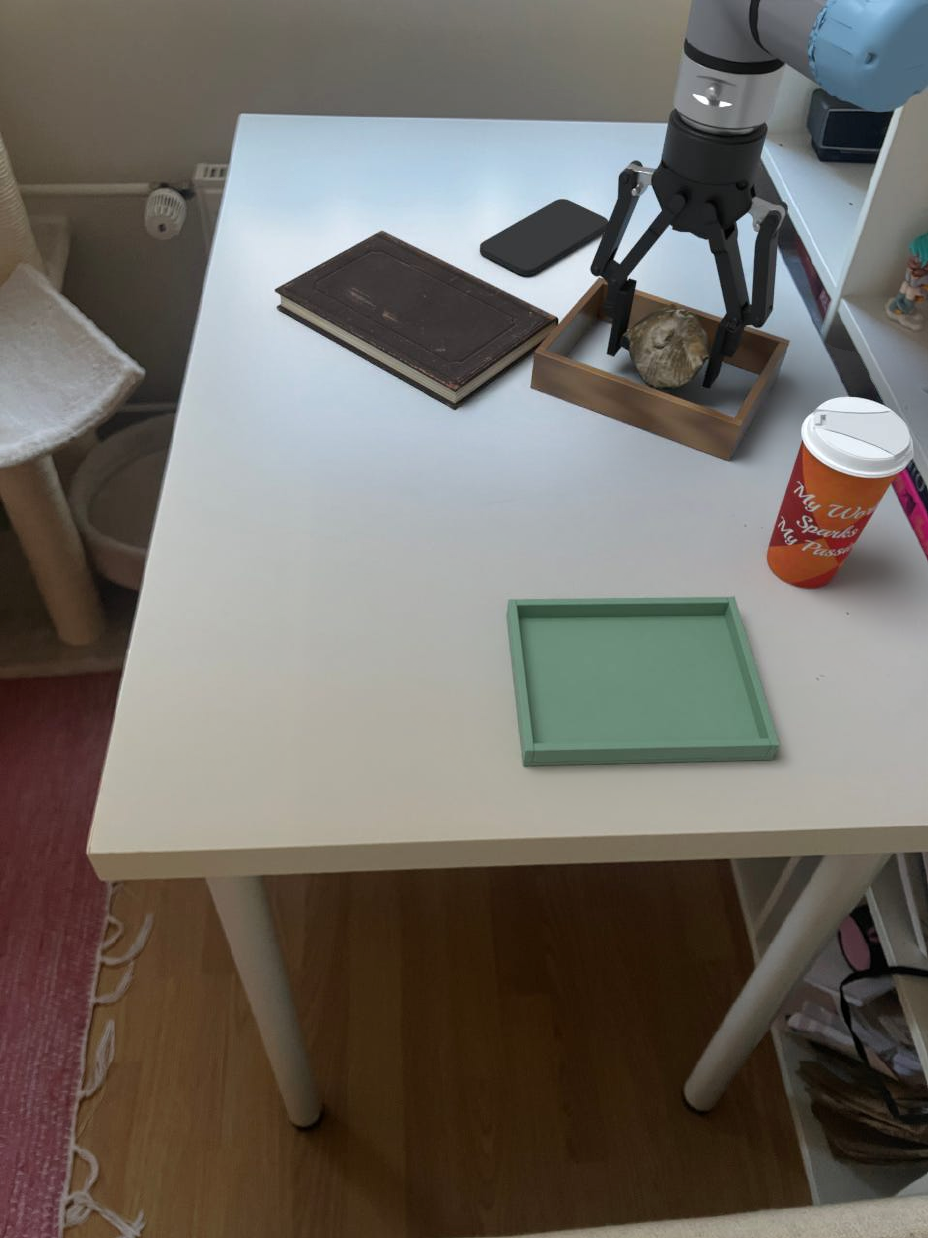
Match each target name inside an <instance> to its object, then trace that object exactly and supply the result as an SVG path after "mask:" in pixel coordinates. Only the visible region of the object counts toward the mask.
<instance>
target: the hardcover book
mask: <svg viewBox="0 0 928 1238" xmlns="http://www.w3.org/2000/svg"><path fill="white" fill-rule="evenodd" d="M274 292H275V293H276V294H278V295H279V296H280V304H278V305H277V306H276V309H277V310H278V311H280V312H281V313H284V314H285V315H287V316H289V317H291V318H292V319H294V320H296V321H298V322H299V323H301V324H303V325H305V326H306V327H308V328H310V329H312V330H313V331H315V332H317V333H318V334H321V336H324V337H326V338H327V339H329V340H331V341H333V342H335V343H336V344H338V345H339V346H342V347H344V348H345V349H347V350H349V351H351V352H353V353H354V354H356V355H358V356H360V357H361V358H363V359H365V360H366V361H368V362H370V363H372V364H374V365H375V366H377V367H379V368H380V369H382V370H384V371H386V372H388V373H389V374H391V375H393V376H395V377H397V378H398V379H400V380H402V381H403V382H405V383H407V384H409V385H411V386H413V387H414V388H416V389H418V390H420V391H421V392H423V393H425V394H426V395H428V396H430V397H432V398H434V399H435V400H437V401H439V402H440V403H443V404H444V405H445V406H447V407H449V408H451V409H453V410H455V409H457V408H458V407H459V406H461V405H462V404H463V403H465V402H466V401H468V400H469V399H471V397H473V396H475V395H476V394H477V393H479V392H480V391H481V390H483V389H484V388H486V387H487V386H489V384H491V383H493V382H494V381H495V380H497V379H498V378H499V377H501V376H502V375H503V374H505V373H506V372H508V371H509V370H510V369H512V368H513V367H515V366H516V365H517V364H519V363H520V362H521V361H523V360H524V359H525V358H527V357H528V356H529V355H531V354H533V353H535V351H536V349H537V348H538V347H539V346H540V345H541V344H542V342H543V341H544V340H545V339H546V338H547V337H548V336H549V334H550V333H551V332H552V331H553V330H554V329H555V327H556V326H557V325H558V324H559V323H560V322H559V321H560V320H559V317H557V316H556V315H554V314H552V313H550V312H548V311H546V310H544V309H542V308H540V307H538V306H536V305H534V304H531V303H529V302H527V301H525V300H523V299H522V298H520V297H517V296H516V295H513V294H511V293H509V292H507V291H505V290H503V289H501V288H499V287H498V286H495V285H493V284H491V283H489V282H487V281H485V280H483V279H481V278H479V277H477V276H475V275H473V274H472V273H469V272H467V271H465V270H463V269H461V268H459V267H457V266H455V265H453V264H451V263H449V262H447V261H445V260H443V259H441V258H439V257H437V256H435V255H433V254H431V253H429V252H427V251H425V250H423V249H420V248H418V247H417V246H415V245H413V244H411V243H409V242H406V241H405V240H403V239H401V238H398V237H397V236H395V235H393V234H390V233H388V232H386V231H384V230H379V231H378V232H376V233H374V234H372V235H371V236H369V237H367V238H365V239H363V240H361V241H360V242H357V243H356V244H354V245H352V246H351V247H349V248H347V249H345V250H344V251H342V252H340V253H338V254H336V255H334V256H332V257H330V258H329V259H327V260H325V261H323V262H321V263H319V264H317V265H316V266H314V267H312V268H310V269H309V270H307V271H305V272H303V273H302V274H300V275H298V276H295V277H294V278H292V279H291V280H289V281H287V282H285V283H283V284H282V285H280V286H278V287H276V288H274Z"/></svg>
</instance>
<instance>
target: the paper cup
mask: <svg viewBox="0 0 928 1238" xmlns="http://www.w3.org/2000/svg"><path fill="white" fill-rule="evenodd" d="M800 433H801V439H802V440H801V442H800V445H799V448H798V452H797V455H796V458H795V461H794V464H793V466H792V467H793V468H792V470H791V473H790V477H789V479H788V482H787V486H786V488H785V492H784V495H783V499H782V502H781V505H780V507H779V511H778V514H777V518H776V521H775V522H774V523H775V524H774V527H773V531H772V533H771V537H770V540H769V544H768V548H767V552H766V561H767V565H768V567H769V568H770V570H771V572H772V573H773V574H774V575H775V576H776V577H778V579H780V580H781V581H783V582H785V583H787V584H789V585H791V586H794V587H798V588H801V589H802V588H803V589H817V588H821V587H824V586H826V585H827V584H829V583H831V581H832V580H833V579H834V577H835V576H836V575H837V573H838V572H839V570H840V569H841V567H842V566H843V564H844V563H845V561H846V559H847V558H848V556H849V554H850V553H851V551H852V549H853V547H854V546H855V544H856V543H857V541H858V539H859V538H860V537H861V534H862V533H863V531H864V530H865V528H866V526H867V524H868V523H869V521H870V520H871V518H872V516H873V514H874V513H875V511H876V510H877V508H878V506H879V505H880V503H881V501H882V499H883V498H884V497H885V494H886V493H887V491H888V490H889V488H890V486H891V485H892V483H893V481H894V479H895V478H896V476H897V474H898V473H900V472H901V471H903V470H904V469H905V468H907V466H908V465H909V463H910V462H911V461H912V459H913V458H914V447H913V446H914V442H913V441H914V440H913V436H912V434H911V433H910V430H909V427H908V425H907V423H905V421H904V420H903V419H902V418H901V417H900V416H899V415H898V414H897V413H896V412H895V411H894V410H892V409H891V408H889V407H887V406H886V405H884V404H882V403H879V402H877V401H874V400H871V399H867V398H862V397H858V396H857V397H855V396H840V397H834V398H830V399H828V400H825V401H824V402H823V403H820V405H818V406H817V407H816V408H815V410H814V411H813V412H811V413H810V414H809V415H808V416H807V417H806V418H805V419H804V420H803V423H802V425H801V429H800Z"/></svg>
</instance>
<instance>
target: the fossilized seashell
mask: <svg viewBox="0 0 928 1238" xmlns="http://www.w3.org/2000/svg"><path fill="white" fill-rule="evenodd" d="M620 346H621V348H622V349H624V350H626V351H627V352H629V357H630V359H631V362H632V364H633V366H634V368H635V370H636V372H637V373H638V377H639V378H640V380H641V382H643V383H644V385H646V386H647V387H650V388H653V389H656V390H662V391H663V390H664V391H667V390H669V391H670V390H673V389H674V390H675V389H679V388H681V387H684V386H686V385H688V384H690V383H691V382H692V381H693V380H694V379H695V377H696V376H697V375H698V373H699V372H700V370H702V368H703V366H704V365H705V363H706V361H708V360H709V358H710V356H709V354H708V337H707V333H706V331H705V330H704V329H703V328H701V325H700V322H699V320H698V317H697V316H696V315H695V314H694V313H692V312H690V311H687V310H679V309H678V308H677V306H676V305H675V304H671V305H669V306H668V307H665V308H663V309H661V310H657V311H654V312H652V313H650V314H648V315H646V316H645V317H644V318H642V319H641V320H640V321H639V322H638V323H636V324H635V325H634V326H633V327H632V328H630V329H627V332H626V333H624V334H623V336H622V338H621V343H620Z"/></svg>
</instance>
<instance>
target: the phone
mask: <svg viewBox="0 0 928 1238" xmlns="http://www.w3.org/2000/svg"><path fill="white" fill-rule="evenodd" d="M608 222H609V219H608V218H606V217H605V216H603V215H601V214H599V213H598V212H594V211H593V210H590V209H589V208H586V207H584V206H583V205H580V204H578V203H576V202H574V201H572V200H569V199H566V198H558V199H556V200H554V201H552V202H550V203H549V204H547V205H545V206H543V207H542V208H540V209H538V210H536V211H534V212H532V213H531V214H529V215H527V216H526V217H523V218H521V219H520V220H518V221H517V222H515V223H513V224H512V225H510V226H508V227H506V228H505V229H503V230H501V231H499V232H497V233H496V234H494V235H492V236H490V237H488V238H487V239H485V240H484V241H482V242H481V243H480V244H479V254H481V255H482V256H484V257H485V258H487V259H489V260H490V261H493V262H495V263H497V264H499V265H500V266H503V267H504V268H506V269H508V270H510V271H512V272H514V273H516V274H518V275H521V276H526V277H528V276H532V275H535V274H536V273H538V272H540V271H542V270H543V269H545V268H546V267H548V266H550V265H552V264H553V263H555V262H556V261H558V260H559V259H561V258H562V257H564V256H566V255H567V254H569V253H570V252H572V251H574V250H576V249H577V248H579V247H580V246H582V245H584V244H585V243H587V242H589V241H590V240H592V239H593V238H595V237H596V236H599V235H600V234H601V233H604V232H605V229H606V227H607V224H608Z"/></svg>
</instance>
